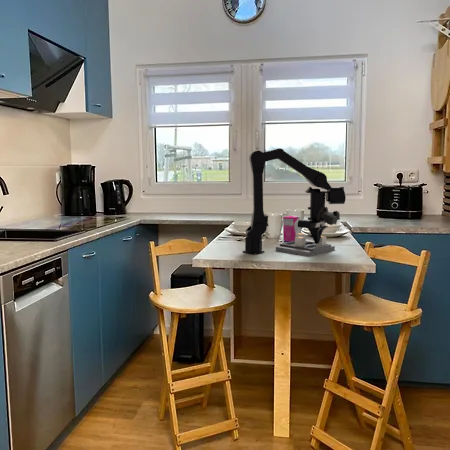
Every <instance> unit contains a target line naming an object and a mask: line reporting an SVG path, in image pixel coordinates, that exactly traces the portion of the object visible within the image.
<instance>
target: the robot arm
mask: <svg viewBox="0 0 450 450" xmlns="http://www.w3.org/2000/svg"><path fill="white" fill-rule="evenodd" d="M248 160H249V165H250V169H251V174H252V204H253V209H252V214H251V220H250V226H248V227H247V229H245V234H246V236H245V237H244V239H245V240H244V241H245V242H244V243H245V245H244V246H245V249H244V250H242V253H245V254H251V255H257V254H262V253H266V252H265V250H263V239H262V238H263V237H262V236H263V234H265V232H266V231H267V228H268V227H269V224H268V221H269V215H268V214H267V213H266V214H265V212H264V187H263V185H264V178H263V177H264V176H263V175H264V170H265V166H266V162H270V161H274V160H279V161H280V162H282V163H283V164H285V165H286V166H288V167H289V168H291V169H292V170H294V171H295V172H297V173H298V174H300V175H301V176H302V177H303V178H304V179H305V180H306V181H307V182H308V183H309V184H310V185H312V186H313V187H316V188H312V186H308V188H307V189H306V190H304V192H305V193H306V194H310V197H309V198H310V200H309V205H310V206H307V210H309V216H308V217H307V218H306V219H305V218H303V219H300V220H299V221H298V223H297V227H300V229H301V228H304V229H308V231H309V233H310V235H311V238H312V239H313V242H315V243H316V244H318V243H319V241H320V238H321V236H323V233H324V232H323V231H324V230H326V229H327V228H328V227H329V226H333V225H337V223H338V221H340V219H341V217H340V216H341V215H340V211H338V210H333V212H332V211H329V210H328V209H329V208H328V207H327V206H326V202H327V203H328V204H329V205H344V204H345V203H346V200H347V199H346V192H345V187H344V186H337V187H335V186H333V187H332V186H331V185H330V183H329V182H328V178H327V175H326V174H325V173H324V172H322V171H319V170H317V169H314V168H312V167H309V166H308V165H305V164H304V162H301V161H300V160H298V159H296V158H295V157H294V156H292V155H291V154H289V153H288V152H286V151H285V150H284V149H283V148H274V149H273V150H267V151H261V150H255V151H252V152H251V153H250V154H249V159H248ZM326 224H327V225H326Z"/></svg>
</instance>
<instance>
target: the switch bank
mask: <svg viewBox="0 0 450 450" xmlns="http://www.w3.org/2000/svg"><path fill="white" fill-rule="evenodd" d="M335 248H336V247H335V245H332V243H326V245H324V246H320V247H316V243H315V242H314V241H312V240H311V241H310V240H306V246H302V247H300V246H295V241H291V242H283V243H279V246H275V252H276V251H277V252H281V253H287V254H294V255H299V256H304V257H311V256H315V255H319V254H324V253H326V252H331V251H335V250H336V249H335Z"/></svg>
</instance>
